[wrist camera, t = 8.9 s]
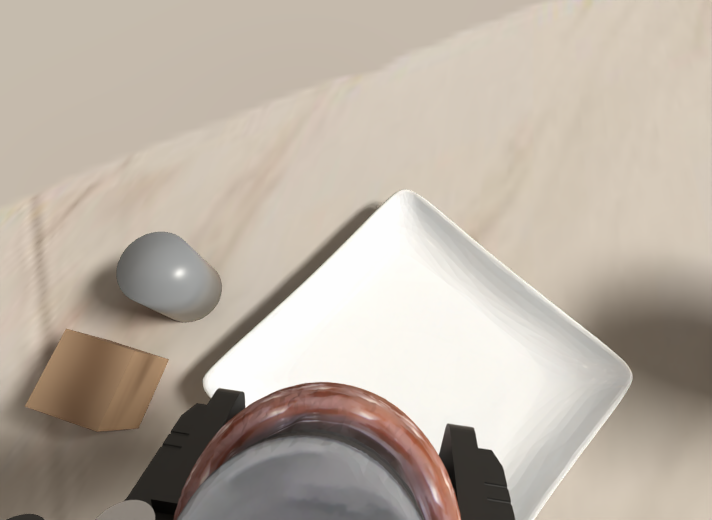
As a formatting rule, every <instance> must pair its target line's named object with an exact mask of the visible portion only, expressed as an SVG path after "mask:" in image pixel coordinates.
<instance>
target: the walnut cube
mask: <svg viewBox="0 0 712 520" xmlns="http://www.w3.org/2000/svg"><path fill="white" fill-rule="evenodd" d="M168 360H169V359H166V358H163V357H160V356H156V355H153V354H150V353H147V352H144V351H141V350H138V349H135V348H131V347H128V346H125V345H122V344H119V343H116V342H113V341H110V340H106V339H102V338H99V337H95V336H91V335H88V334H84V333H80V332H76V331H73V330H69V329H66V330H65V332H64V334H63V335H62V337H61V339H60V341H59V343H58V345H57V347H56V349H55V351H54V352H53V354H52V356H51V358H50V360H49V362H48V364H47V366H46V367H45V369H44V371H43V373H42V375H41V377H40V379H39V381H38V382H37V384H36V386H35V388H34V390H33V392H32V394H31V396H30V397H29V399H28V401H27V403H26V405H25V407H28V408H31V409H33V410H36V411H39V412H42V413H45V414H48V415H51V416H53V417H56V418H59V419H62V420H65V421H68V422H71V423H73V424H76V425H79V426H82V427H85V428H88V429H91V430H93V431H96V432H100V431H111V430H123V429H135V428H139V426H140V424H141V422H142V419H143V417H144V415H145V413H146V410H147V408H148V406H149V403H150V401H151V399H152V397H153V394H154V392H155V390H156V388H157V385H158V383H159V381H160V378H161V376H162V374H163V372H164V369H165V367H166V365H167V363H168Z"/></svg>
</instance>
